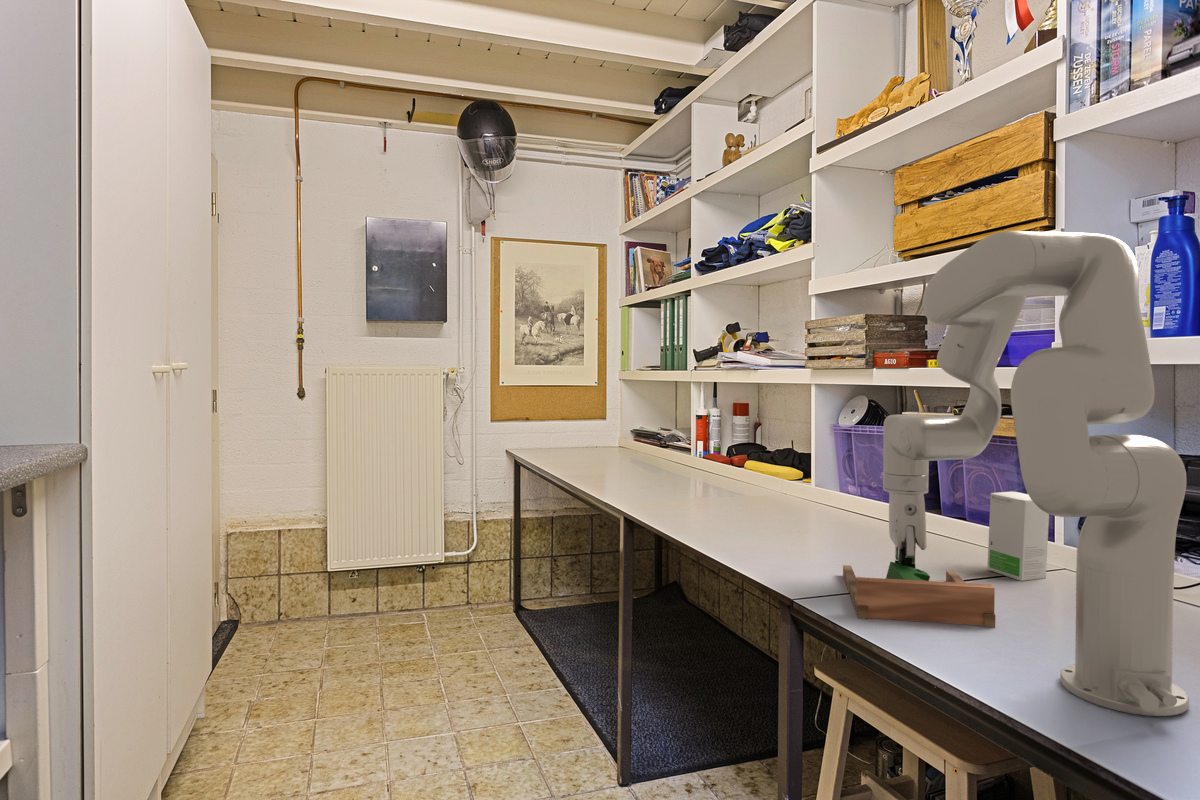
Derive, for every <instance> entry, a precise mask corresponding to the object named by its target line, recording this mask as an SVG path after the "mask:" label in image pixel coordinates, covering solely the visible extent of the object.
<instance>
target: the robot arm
mask: <svg viewBox="0 0 1200 800" xmlns="http://www.w3.org/2000/svg"><path fill="white" fill-rule="evenodd" d="M1139 281H1140V280H1139V270H1138V263H1137V259H1136V257H1135V254H1134V253H1133V251H1132V250H1131V248H1130V247H1129V246H1128V245H1127V244H1126V243H1125V242H1123V241H1122V240H1121V239H1119V238H1116V237H1114V236H1111V235H1106V234H1102V233H1092V232H1091V233H1090V232H1076V231H1075V232H1071V231H1069V232H1068V231H1025V230H1005V231H1003V230H1002V231H998V232H994V233H992V234H989V235H986V236H985V237H983V238H981V239H980V240H978V241H977V242H975V243H974V244H972V245H971V246H970V247H968V248H966V249H965V250H964V251H962V252H961V253H960V254H958V255H957V256H955V257H954V258H953V259H951V260H950V261H947V263H946V264H945V265H944V266H941V268H939V270H938V271H936V273H935V274H934V275H933V276H932V277H931V279H930V280H929V281H928V283H927V284H926V287H925V288H924V292H923V296H922V310H923V313H924V316H925V317H926V319H928V320H929V321H930V322H931V323H932V324H935V325H940V326H948V328H947V329H946V333H945V335H944V338H943V340H942V342H941V345H940V348H939V350H938V352H937V354H936V362H937V365H938V366H939V367H940V368H941V369H942V371H944V372H945V373H946V374H948V375H949V376H951V377H953V378H955V379H956V380H960V381H961V382H964V383H966V384H968V385H969V395H968V399H967V402H966V404H965V406H964V408H963V411H962V413H961V414H960V415H959V414H956V415H953V414H951V415H931V416H929V415H928V416H926V415H924V416H923V415H919V414H890V415H888V416H886V418H885V419H884V421H883V442H882V443H883V445H882V446H883V450H882V451H883V452H882V453H883V454H882V455H883V456H882V457H883V459H882V460H883V461H882V462H883V463H882V464H883V465H882V466H883V473H882V481H883V482H882V484H883V485H882V489H883V490H882V491H884V492H887V493H888V494H889V495H888V496H889V497H888V501H889V502H888V531H889V533H888V534H889V537H890V540H891V541H892V542H893V544H894V553H895V554H894V555H895V556H894V557H895V560H894V563H898V564H901V565H905V566H909V567H912V568H916V545H917V546H918V547H919V549H920V550H921V551H924V550H926V549H927V524H926V523H927V519H926V502H925V496H924V495H925V494H928V493H929V480H930V479H929V475H930V474H929V471H930V470H929V466H930V463H929V462H931V461H932V462H933V461H935V462H936V461H946V460H952V461H953V460H967V459H968V460H969V459H972V458H975V457H977V456H979V455H981V453H982V452H983V451H984V450H985V449H986V448H987V446H988V445H989V443H990V441H991V439H992V437H993V436H994V434H995V431H996V429H997V428H998V425H999V423H1000V419H1001V415H1002V396H1001V391H1000V390H1001V389H1000V388H999V385H998V383H997V380H996V378H995V370H996V368H997V365H998V363H999V361H1000V360H1001V357H1002V355H1003V352H1004V351H1005V348H1006V345H1007V344H1008V341H1009V339H1010V337H1011V334H1012V333H1013V330H1014V327H1015V326H1016V324H1017V322H1018V321H1017V320H1018V319H1019V317H1020V315H1021V312H1022V310H1023V308H1024V305H1025V303H1026V300H1027V297H1059V296H1060V297H1064V296H1065V297H1066V299H1065V300H1064V303H1063V304H1062V307H1061V310H1060V314H1059V318H1058V319H1059V321H1058V328H1059V333H1060V337H1061V338H1060V339H1061V346H1060V347H1059V346H1057V347H1048V348H1043V349H1038V350H1035V351H1034V352H1032V353H1030V354H1028V355H1027V356H1026V357H1025V358H1024V359H1023V360H1021V362H1020V363H1019V364H1018V366H1017V368H1016V370H1015V372H1014V375H1013V379H1012V381H1011V387H1010V402H1011V411H1012V413H1011V414H1012V419H1013V426H1014V433H1015V439H1016V447H1017V452H1018V459H1019V465H1020V472H1021V478H1022V481H1023V484H1024V488H1025V491H1026V494H1028V495H1029V497H1030V498H1031V500H1032V501H1033V502H1034V504H1035V505H1036V506H1037V507H1038V508H1040V509H1041V510H1042V511H1044V512H1046V513H1048V514H1049V516H1050V515H1051V516H1054V517H1060V518H1085V517H1086V518H1085V520H1084V522H1083V525H1082V526H1081V529H1080V532H1079V535H1078V538H1077V545H1076V572H1075V573H1076V574H1075V580H1076V581H1075V650H1074V651H1075V654H1074V655H1075V657H1074V660H1075V661H1074V662H1075V663H1074V664H1070V665H1067V666H1064V667H1063V668H1061V670H1060V673H1059V674H1060V676H1059V678H1060V679H1059V680H1060V683H1061V685H1062V686H1063V687H1064V688H1065V689H1066V690H1067V691H1069V692H1070V693H1071V694H1073V695H1074V696H1076V697H1079V698H1081V699H1083V700H1084V701H1087V702H1089V703H1092V704H1094V705H1098V706H1100V707H1103V708H1105V709H1111V710H1114V711H1119V712H1124V713H1128V714H1133V715H1139V716H1140V715H1141V716H1149V717H1152V716H1153V717H1170V716H1178V715H1181V714H1183V713H1185V712H1186V711H1188V708H1189V706H1190V704H1189V702H1190V701H1189V700H1190V699H1189V695H1188V694H1187V692H1186V691H1184V690H1183V689H1182V688H1181V687H1179V686H1178V685H1176V684H1175V683H1173V650H1174V649H1173V648H1174V647H1173V645H1174V644H1173V642H1174V636H1173V635H1174V592H1175V591H1174V589H1175V588H1174V585H1175V584H1174V582H1175V581H1174V580H1175V558H1176V557H1175V555H1176V540H1177V539H1176V538H1177V530H1178V529H1177V528H1178V523H1179V519H1180V514H1181V510H1182V508H1183V505H1184V500H1185V497H1186V496H1185V495H1186V490H1187V471H1186V468H1185V463H1184V462H1183V460H1182V458H1181V457H1180V455H1179V454H1178V453H1177V451H1176V450H1175V449H1173V448H1172V447H1171V446H1170V445H1168V444H1167V443H1165V442H1163V441H1161V440H1159V439H1157V438H1154V437H1150V436H1146V435H1140V434H1124V433H1123V434H1103V435H1102V434H1100V435H1098V434H1097V435H1090V434H1089V426H1090V425H1091V426H1092V425H1113V424H1114V425H1115V424H1124V423H1129V422H1133V421H1137V420H1139V419H1141V418H1142V417H1144V416H1145V415H1147V414H1148V413H1149V411H1150V410H1151V409H1152V407H1153V405H1154V402H1155V396H1156V395H1155V394H1156V393H1155V382H1154V376H1153V370H1152V366H1151V365H1152V364H1151V358H1150V353H1149V348H1148V342H1147V338H1146V332H1145V326H1144V323H1143V317H1142V312H1141V306H1140V294H1139V293H1140V291H1139V290H1140V289H1139V287H1140V284H1139Z"/></svg>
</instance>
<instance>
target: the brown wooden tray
mask: <svg viewBox="0 0 1200 800" xmlns="http://www.w3.org/2000/svg"><path fill="white" fill-rule="evenodd" d="M842 576H843V579H844V582H845V584H846V588H847V591H848V590H849V591H848V593H850V594H849V596H850V599H851V598H852V599H851V602H852V601H853V602H852V605H853V604H854V605H853V608H854V607H855V608H854V610H855V613H856V612H857V613H856V616H857V615H858V616H857V618H858V619H861V618H867V619H866V620H869V619H876V618H882V619H881V620H891V619H896V620H895V621H906V620H908V621H910V622H923V623H937V624H939V623H941V624H956V625H968V626H970V625H971V626H982V627H985V628H996V614H995V604H996V603H995V598H996V597H995V594H996V593H995V590H996V589H995V587H994V586H993V584H990V583H977V582H975V583H973V582H965V580H964V579H962V577H961V576H960V575H959V574H958V573H957V572H956V571H955V570H945V581H936V580H933V581H932V580H929V581H920V580H901V579H886V578H879V577H861V576H856V574H855V572H854V570H853V567H852V565H845V564H842ZM908 621H907V622H908Z"/></svg>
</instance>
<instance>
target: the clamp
mask: <svg viewBox="0 0 1200 800" xmlns="http://www.w3.org/2000/svg"><path fill="white" fill-rule="evenodd" d="M887 569H888V570H887V572H886V573H887V574H886V576H885V579H901V580H920V581H930V578H931V576H930V574H929V573H928V572H926V571H924V570H923V569H922V570H921V569H918V568H916V567H915V568H912V567H909V566H905V565H901V564H898V563H895V561H890V562H889V566H888V568H887Z"/></svg>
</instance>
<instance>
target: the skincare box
mask: <svg viewBox="0 0 1200 800" xmlns="http://www.w3.org/2000/svg"><path fill="white" fill-rule="evenodd" d="M989 498H990V499H989V500H990V503H989V522H988V523H989V524H988V525H989V526H988V544H987V545H988V549H987V564H986V565H987V568H986V569H987V570H988V571H990V572H995V573H997V574H999V575H1003V576H1005V577H1008V578H1012V579H1014V580H1017V581H1020V582H1026V580H1027V581H1033V580H1041V579H1046V578H1047V563H1048V562H1047V561H1048V546H1049V545H1048V543H1049V542H1048V540H1049V526H1050V525H1049V524H1050V523H1049V522H1050V514H1048V513H1046V512H1044V511H1042V510H1041V509H1040V508H1038V507H1037V506H1036V505H1035V504H1034V502H1033V501H1032V500H1031V498H1030V497H1029V495H1028V493H1023V492H1017V491H1001V492H990V497H989Z"/></svg>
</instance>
